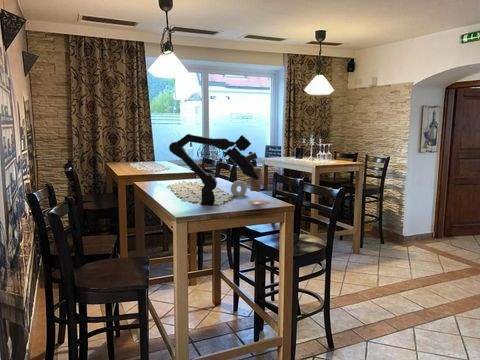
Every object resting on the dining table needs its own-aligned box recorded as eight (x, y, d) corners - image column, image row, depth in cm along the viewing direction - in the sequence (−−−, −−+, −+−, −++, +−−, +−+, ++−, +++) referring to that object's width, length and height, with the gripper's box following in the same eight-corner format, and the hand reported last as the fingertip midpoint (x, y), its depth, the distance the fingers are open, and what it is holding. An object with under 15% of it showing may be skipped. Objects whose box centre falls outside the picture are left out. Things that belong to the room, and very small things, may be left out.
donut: (245, 196, 225) (245, 179, 224) (247, 197, 222) (248, 180, 221) (229, 197, 221) (229, 180, 220) (232, 198, 218) (232, 181, 217)
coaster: (248, 206, 197) (248, 204, 197) (246, 201, 209) (246, 200, 209) (271, 206, 198) (271, 204, 198) (268, 201, 210) (268, 200, 210)
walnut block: (250, 191, 200) (251, 168, 198) (250, 189, 205) (250, 167, 203) (260, 191, 200) (260, 168, 198) (259, 189, 205) (260, 167, 203)
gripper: (249, 147, 190) (271, 170, 192) (247, 145, 208) (267, 166, 210) (233, 163, 191) (254, 185, 193) (233, 159, 209) (252, 180, 211)
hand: (258, 178), depth 202 cm, fingers closed on walnut block, 5 cm apart
